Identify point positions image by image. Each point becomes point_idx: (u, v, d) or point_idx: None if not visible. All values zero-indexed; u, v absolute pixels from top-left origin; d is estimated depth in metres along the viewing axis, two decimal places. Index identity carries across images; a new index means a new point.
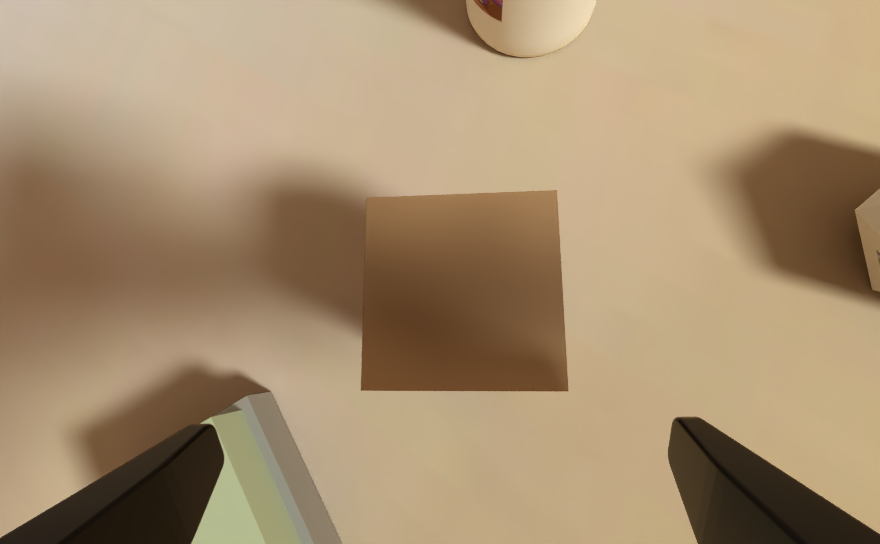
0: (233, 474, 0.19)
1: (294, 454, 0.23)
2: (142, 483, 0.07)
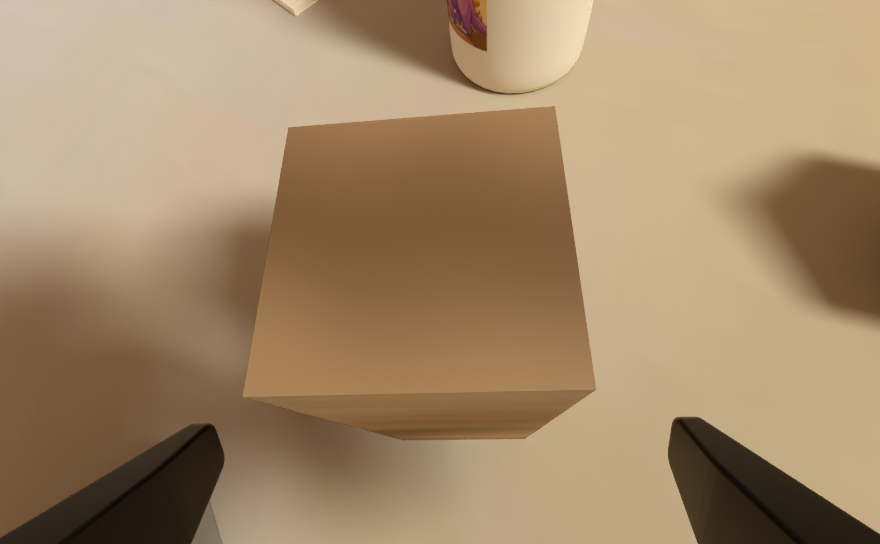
0: None
1: None
2: (142, 483, 0.07)
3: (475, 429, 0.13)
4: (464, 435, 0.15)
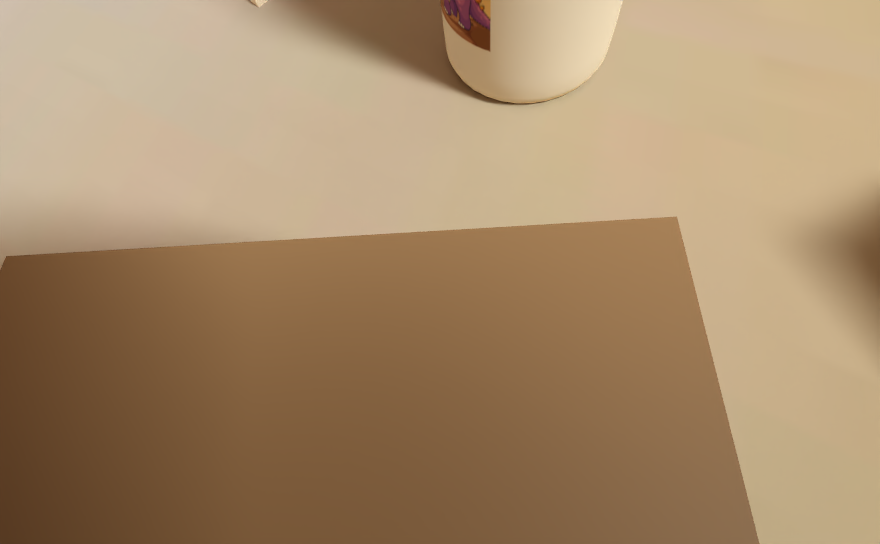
0: None
1: None
2: None
3: None
4: None
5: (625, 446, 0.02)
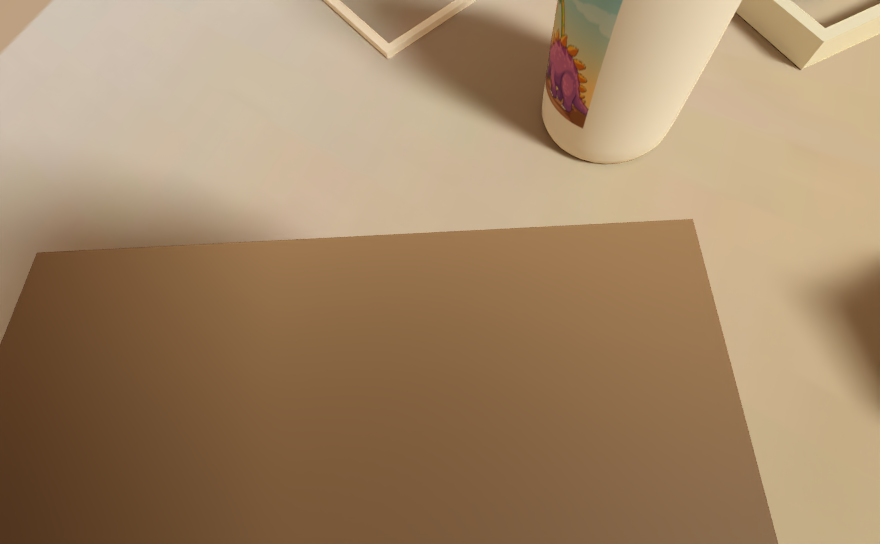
0: None
1: None
2: None
3: None
4: None
5: (645, 438, 0.03)
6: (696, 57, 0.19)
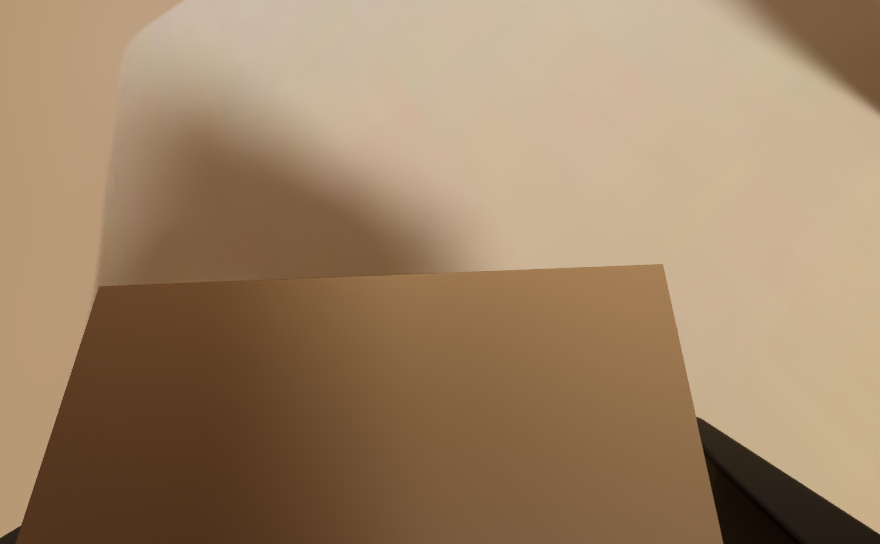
0: None
1: None
2: None
3: None
4: None
5: (618, 452, 0.03)
6: None
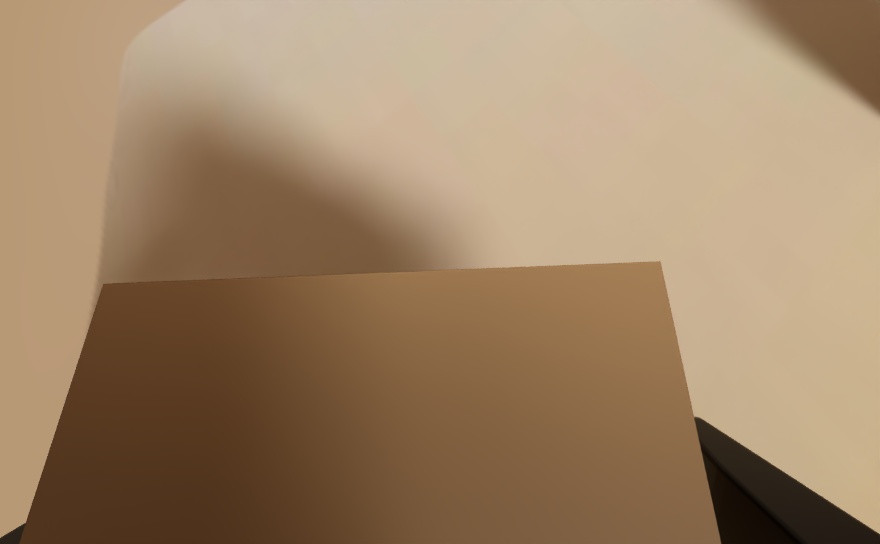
0: None
1: None
2: None
3: None
4: None
5: (616, 446, 0.03)
6: None
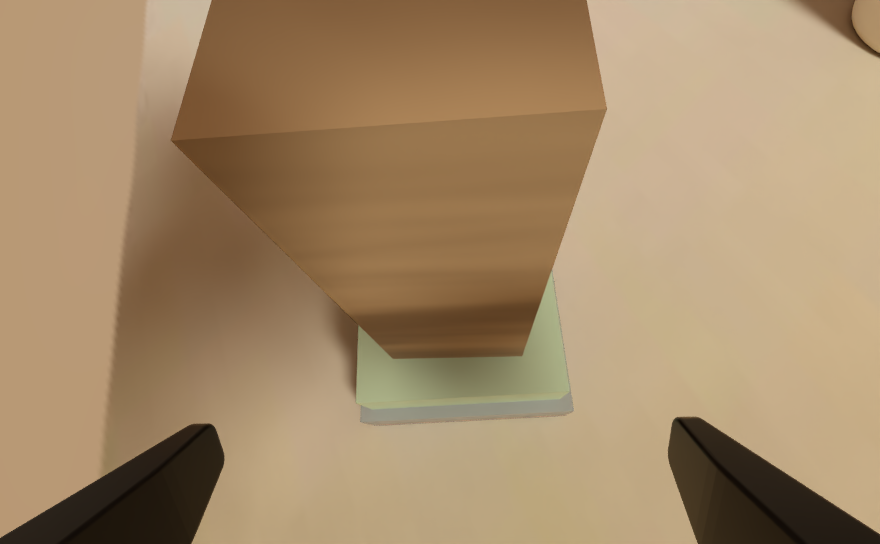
0: None
1: None
2: (142, 483, 0.07)
3: (467, 313, 0.12)
4: (456, 340, 0.14)
5: None
6: None
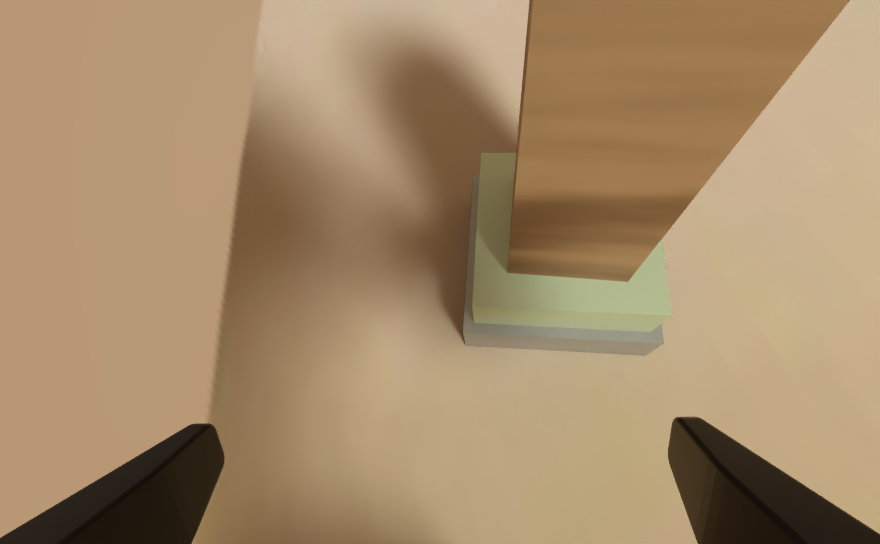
0: None
1: None
2: (142, 483, 0.07)
3: (619, 208, 0.13)
4: (584, 248, 0.16)
5: None
6: None
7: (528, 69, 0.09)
